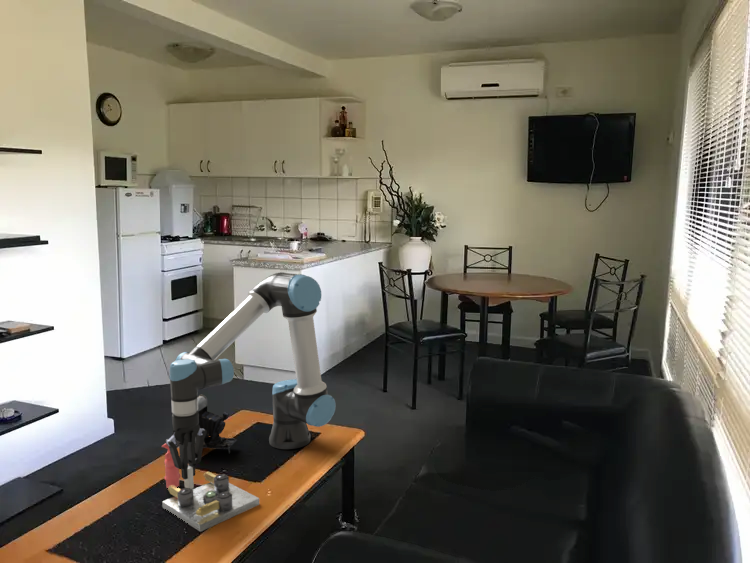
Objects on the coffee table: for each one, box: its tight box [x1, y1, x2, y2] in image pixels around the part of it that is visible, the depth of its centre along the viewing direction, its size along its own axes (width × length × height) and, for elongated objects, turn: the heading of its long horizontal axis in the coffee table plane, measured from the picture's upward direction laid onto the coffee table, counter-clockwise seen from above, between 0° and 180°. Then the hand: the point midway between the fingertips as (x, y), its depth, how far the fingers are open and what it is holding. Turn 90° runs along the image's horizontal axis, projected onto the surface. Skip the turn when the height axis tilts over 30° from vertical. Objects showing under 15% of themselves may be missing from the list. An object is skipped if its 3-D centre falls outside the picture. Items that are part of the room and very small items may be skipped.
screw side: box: [196, 492, 232, 516], centre depth 176 cm, size 11×4×4 cm, turn 138°
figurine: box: [161, 442, 182, 489], centre depth 195 cm, size 5×5×15 cm
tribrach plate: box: [161, 482, 260, 532], centre depth 183 cm, size 20×20×4 cm
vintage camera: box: [195, 394, 238, 454], centre depth 222 cm, size 10×16×20 cm, turn 79°
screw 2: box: [203, 471, 230, 491], centre depth 192 cm, size 11×4×4 cm, turn 48°
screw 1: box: [167, 485, 194, 506], centre depth 183 cm, size 11×4×4 cm, turn 48°
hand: (189, 487), depth 187 cm, fingers closed
